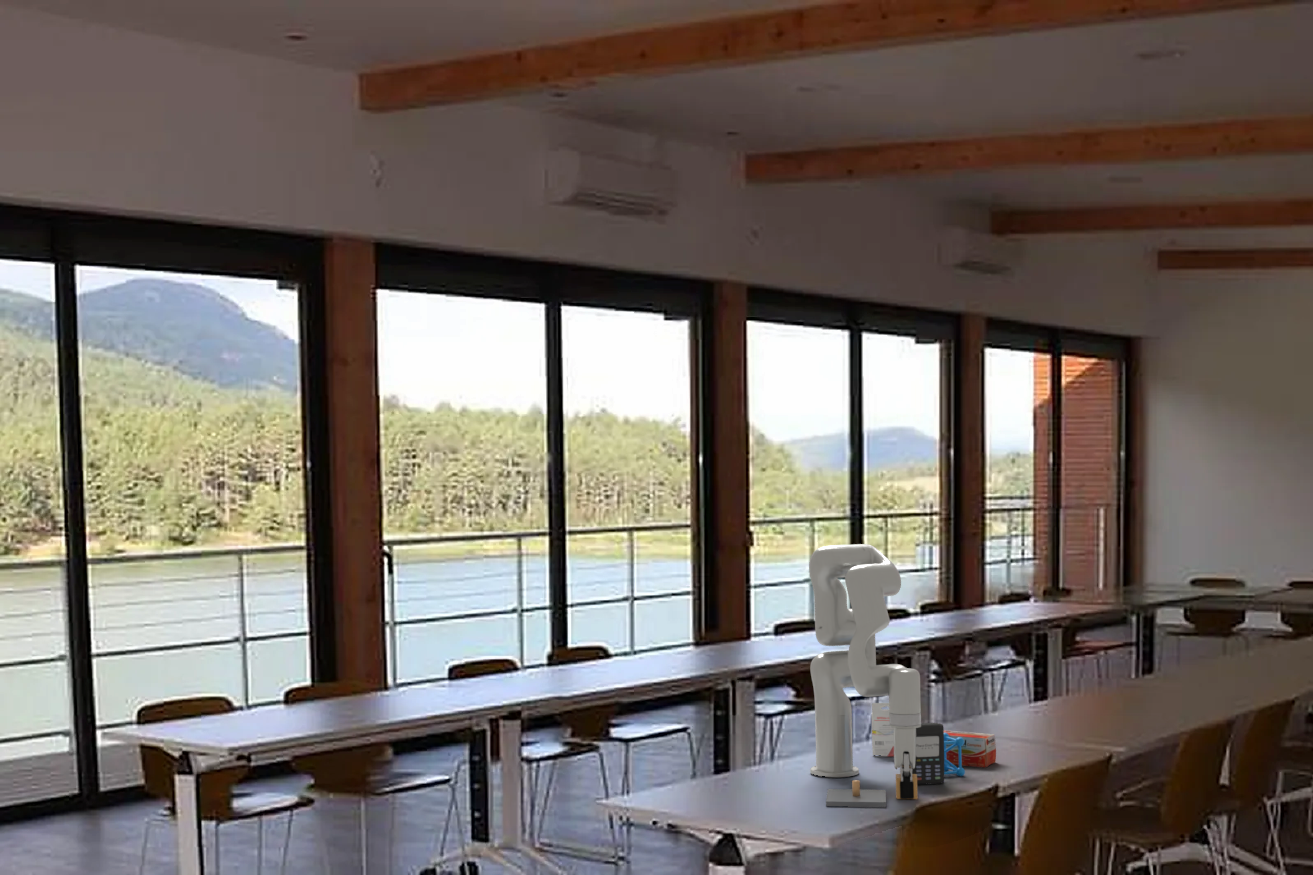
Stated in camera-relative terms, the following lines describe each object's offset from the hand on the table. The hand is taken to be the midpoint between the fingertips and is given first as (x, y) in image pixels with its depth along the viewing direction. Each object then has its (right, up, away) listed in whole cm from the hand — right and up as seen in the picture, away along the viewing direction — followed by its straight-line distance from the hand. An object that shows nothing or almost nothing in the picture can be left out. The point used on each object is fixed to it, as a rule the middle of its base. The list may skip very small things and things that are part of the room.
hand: (906, 795), depth 370 cm
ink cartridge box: (+4, -2, +55) cm, 55 cm away
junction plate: (-13, -1, -3) cm, 13 cm away
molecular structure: (+13, -1, +26) cm, 29 cm away
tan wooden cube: (0, 0, 0) cm, 0 cm away
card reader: (+7, -1, +15) cm, 17 cm away
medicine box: (+22, -2, +42) cm, 47 cm away
